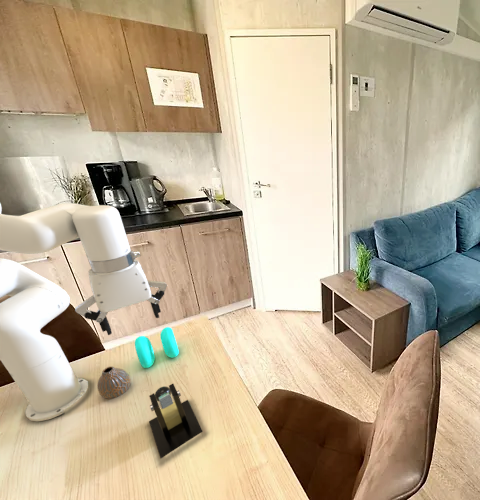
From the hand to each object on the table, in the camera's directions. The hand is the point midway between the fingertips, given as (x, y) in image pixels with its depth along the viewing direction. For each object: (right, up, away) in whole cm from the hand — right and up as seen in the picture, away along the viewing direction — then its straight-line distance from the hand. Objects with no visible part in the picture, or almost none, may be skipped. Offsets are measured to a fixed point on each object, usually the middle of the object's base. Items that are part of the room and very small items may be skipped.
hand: (134, 323), depth 70 cm
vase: (-12, -22, +10) cm, 27 cm away
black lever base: (+10, -27, +1) cm, 29 cm away
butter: (+9, -25, +2) cm, 26 cm away
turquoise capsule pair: (-7, -17, +22) cm, 29 cm away
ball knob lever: (+8, -20, 0) cm, 22 cm away
